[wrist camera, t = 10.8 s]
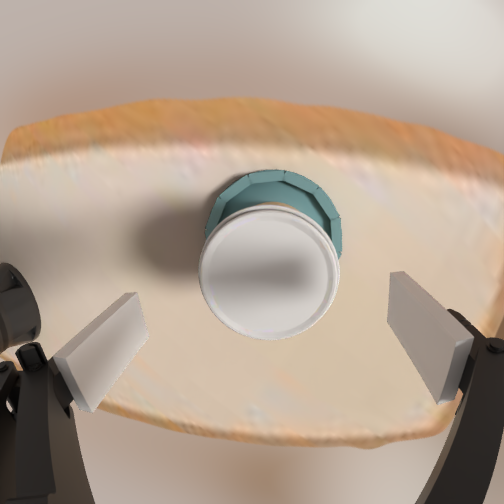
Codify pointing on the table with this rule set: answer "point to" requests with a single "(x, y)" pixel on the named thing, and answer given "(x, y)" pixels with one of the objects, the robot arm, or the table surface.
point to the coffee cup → (268, 271)
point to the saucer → (279, 200)
